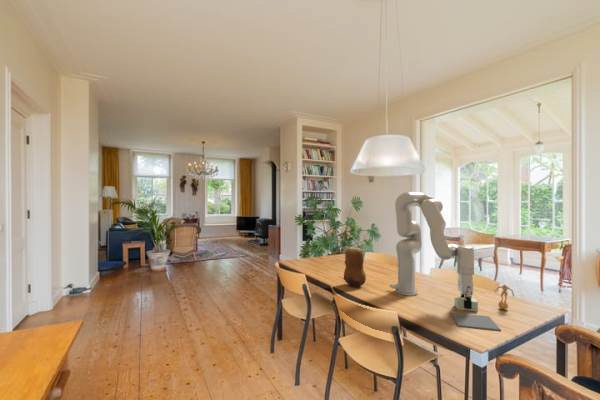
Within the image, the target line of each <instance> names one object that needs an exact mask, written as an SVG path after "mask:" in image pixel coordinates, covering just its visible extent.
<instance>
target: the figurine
mask: <svg viewBox="0 0 600 400" xmlns="http://www.w3.org/2000/svg"><path fill="white" fill-rule="evenodd" d="M499 289H502V290H501V293H500V297H501V300H500V301H499V302H498V308H499V309H501V310H508V308H509V304H508V302H507V296H508V295H509V294H508V292H507V291H508V290H509V291H511V293H512V297H515V294H514V290H513V289H511V287H509V286H508V285H506V284H503V285H502V286H498V287H497V288H496V289H495V291H494V293H496V292H497V291H498V290H499ZM503 296H504V297H503ZM504 299H505V300H504Z"/></svg>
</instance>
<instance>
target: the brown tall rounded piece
mask: <svg viewBox="0 0 600 400" xmlns="http://www.w3.org/2000/svg"><path fill="white" fill-rule="evenodd" d="M344 256H345V257H344V259H345V260H344V265H345V268H344V271H343V280H344V281H345V283H346V284H347V285H349V286H353V287H354V288H359V287H360V286H363V285H364V284H365V283H366V280H367V279H366V277H367V276H366V271H365V270H364V260H365V259H364V252H363V249H362V248H360V247H354V246H350V247H348V248H346V249H345V255H344Z"/></svg>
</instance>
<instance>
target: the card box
mask: <svg viewBox="0 0 600 400" xmlns="http://www.w3.org/2000/svg"><path fill="white" fill-rule="evenodd" d="M464 300H465V298H463V297H461V296H454V307H455V308H456V310H461V311H472V312H478V311H479V302H478V301H477V299H475V298H473V297H471V300H472V309H466V308H464Z"/></svg>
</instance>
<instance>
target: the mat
mask: <svg viewBox="0 0 600 400" xmlns="http://www.w3.org/2000/svg"><path fill="white" fill-rule="evenodd" d="M450 316H451V317H452V319H453V321H454V322H455V324H456V325H457V327H458V328H460V327H461V328H467V329H468V328H469V329H470V328H471V329H476V330H477V329H478V330H479V329H480V330H487V331H495V332H497V331H498V332H501V331H502V329H501V328H500V327H499V326H498V325H497V324H496V322H495V321H494V320H493V319H492V318H491V317H490V316H489V315H478V314H470V313H459V312H458V313H457V312H450Z"/></svg>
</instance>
